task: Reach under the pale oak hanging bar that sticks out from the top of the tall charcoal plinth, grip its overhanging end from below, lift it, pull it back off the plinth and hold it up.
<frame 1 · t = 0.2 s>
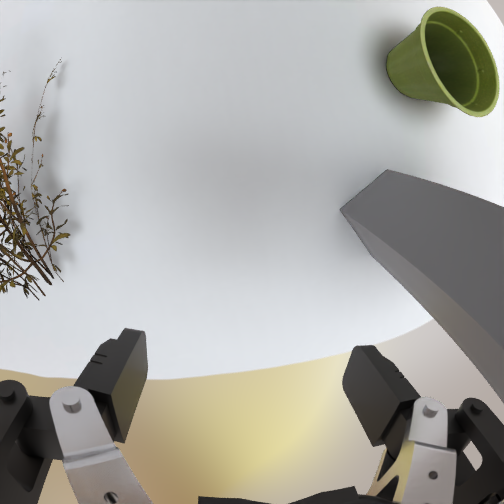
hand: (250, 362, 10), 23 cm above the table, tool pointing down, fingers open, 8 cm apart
plinth: (380, 213, 32), on the table
dried plant: (17, 142, 25), on the table
plant pot: (407, 74, 25), on the table
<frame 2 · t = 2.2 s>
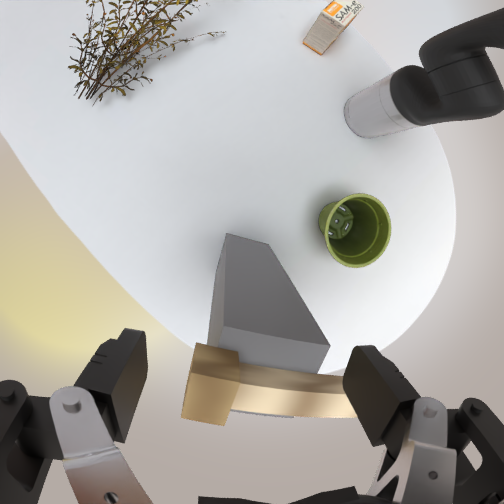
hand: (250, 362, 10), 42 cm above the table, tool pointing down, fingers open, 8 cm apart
supplement box: (321, 39, 43), on the table
plinth: (241, 259, 52), on the table
dried plant: (163, 30, 40), on the table
hanging bar: (305, 385, 20), point 34 cm above the table, touching plinth
plant pot: (334, 221, 52), on the table
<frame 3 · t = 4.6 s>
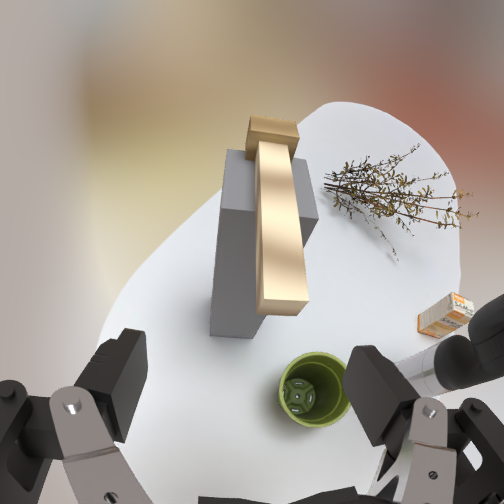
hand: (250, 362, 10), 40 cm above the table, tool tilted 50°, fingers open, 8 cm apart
supplement box: (428, 328, 57), on the table
plinth: (231, 317, 52), on the table
dried plant: (381, 226, 74), on the table
hanging bar: (271, 208, 22), point 34 cm above the table, touching plinth
plant pot: (295, 396, 45), on the table
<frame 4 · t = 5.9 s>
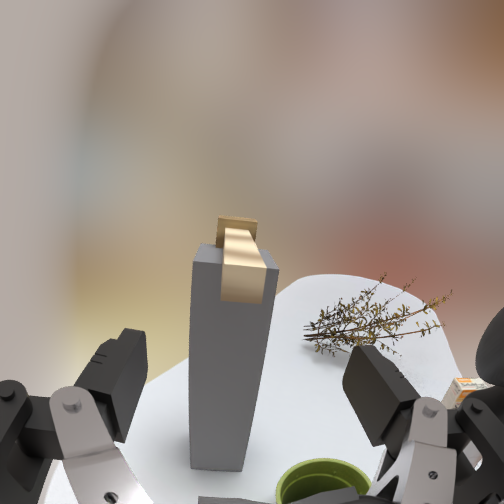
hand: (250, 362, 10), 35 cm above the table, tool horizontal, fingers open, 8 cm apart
supplement box: (443, 429, 40), on the table
plinth: (216, 452, 37), on the table
dried plant: (368, 363, 69), on the table
hanging bar: (236, 263, 26), point 34 cm above the table, touching plinth
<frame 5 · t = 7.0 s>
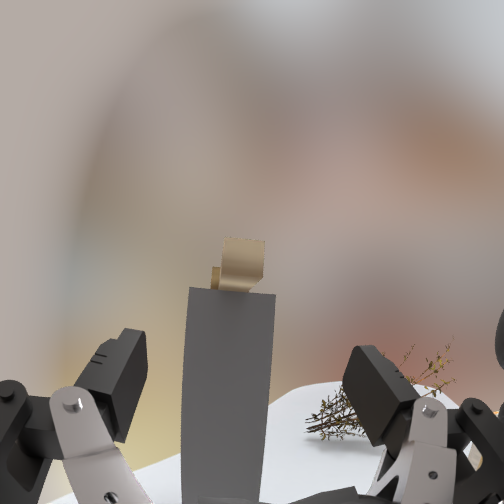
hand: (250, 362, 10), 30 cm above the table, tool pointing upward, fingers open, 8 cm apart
supplement box: (482, 472, 23), on the table
dried plant: (381, 443, 52), on the table
hanging bar: (232, 291, 26), point 34 cm above the table, touching plinth
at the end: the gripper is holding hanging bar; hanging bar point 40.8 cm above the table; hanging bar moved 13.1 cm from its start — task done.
